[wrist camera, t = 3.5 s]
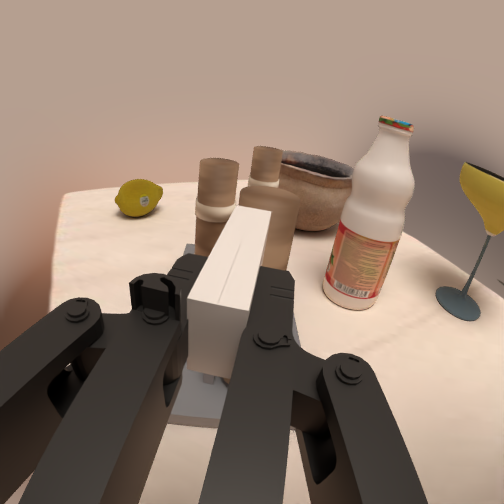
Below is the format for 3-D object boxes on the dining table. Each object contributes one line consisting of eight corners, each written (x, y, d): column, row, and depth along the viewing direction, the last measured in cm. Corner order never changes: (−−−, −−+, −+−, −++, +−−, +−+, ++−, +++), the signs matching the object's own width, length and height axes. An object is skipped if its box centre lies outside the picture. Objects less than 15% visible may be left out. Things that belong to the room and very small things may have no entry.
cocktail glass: (402, 282, 54) (444, 154, 42) (453, 274, 59) (490, 170, 47) (463, 344, 39) (532, 199, 27) (506, 322, 45) (558, 209, 32)
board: (278, 262, 55) (283, 236, 52) (309, 429, 27) (324, 403, 24) (186, 253, 53) (187, 227, 51) (146, 419, 25) (138, 392, 23)
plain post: (259, 391, 27) (300, 211, 18) (217, 384, 27) (234, 200, 19) (263, 361, 31) (300, 191, 22) (225, 354, 31) (245, 182, 22)
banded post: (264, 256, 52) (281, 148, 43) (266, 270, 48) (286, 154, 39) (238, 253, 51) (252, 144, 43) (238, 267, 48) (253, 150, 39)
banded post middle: (225, 293, 42) (240, 159, 33) (224, 314, 38) (240, 169, 29) (194, 290, 41) (201, 156, 32) (190, 311, 37) (196, 165, 29)
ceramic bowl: (248, 202, 79) (255, 145, 71) (325, 207, 84) (336, 155, 76) (269, 244, 60) (282, 169, 53) (364, 246, 65) (382, 181, 58)
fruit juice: (341, 316, 43) (398, 119, 30) (311, 280, 51) (350, 107, 37) (386, 306, 46) (442, 135, 33) (355, 274, 54) (396, 120, 40)
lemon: (116, 224, 60) (114, 187, 56) (114, 210, 66) (113, 176, 62) (166, 219, 64) (166, 183, 60) (160, 206, 70) (160, 173, 66)
